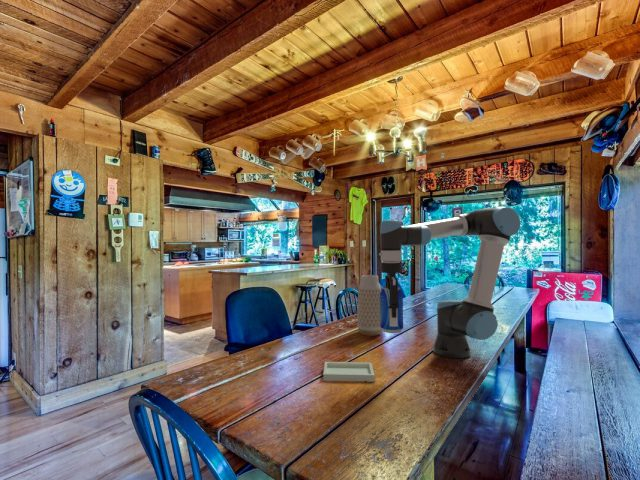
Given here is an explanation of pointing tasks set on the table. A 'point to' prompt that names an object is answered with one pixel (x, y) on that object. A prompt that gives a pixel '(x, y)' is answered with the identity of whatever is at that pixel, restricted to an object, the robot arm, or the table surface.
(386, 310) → the beer can
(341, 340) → the table surface
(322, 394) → the table surface
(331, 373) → the tray
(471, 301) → the robot arm
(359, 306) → the vase
